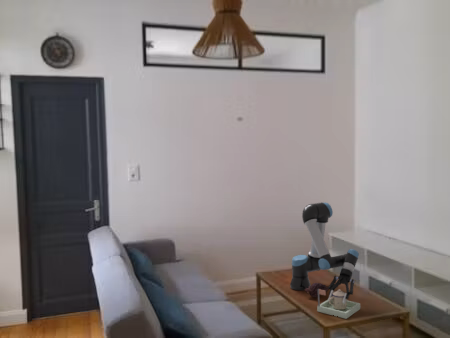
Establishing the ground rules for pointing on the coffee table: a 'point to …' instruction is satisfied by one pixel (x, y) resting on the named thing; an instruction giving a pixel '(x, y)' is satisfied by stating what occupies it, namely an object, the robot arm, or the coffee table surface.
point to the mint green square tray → (330, 310)
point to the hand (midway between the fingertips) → (336, 301)
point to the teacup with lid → (338, 300)
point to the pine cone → (316, 289)
